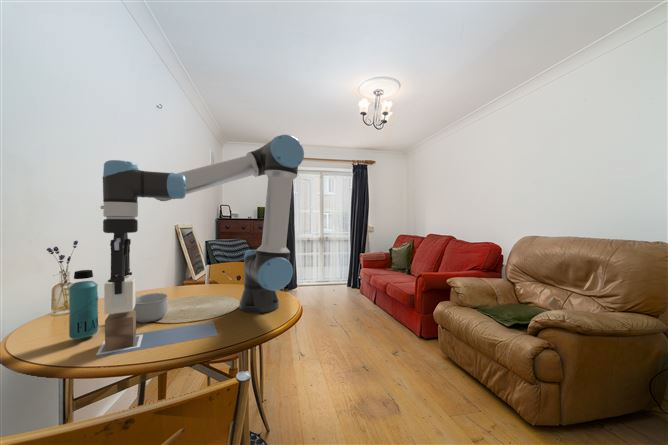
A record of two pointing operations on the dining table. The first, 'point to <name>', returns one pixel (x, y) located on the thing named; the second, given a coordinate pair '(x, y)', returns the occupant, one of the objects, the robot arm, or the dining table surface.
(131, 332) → the walnut block
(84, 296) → the beverage bottle
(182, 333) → the plan sheet
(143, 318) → the teacup
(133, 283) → the cream block
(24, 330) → the dining table surface
